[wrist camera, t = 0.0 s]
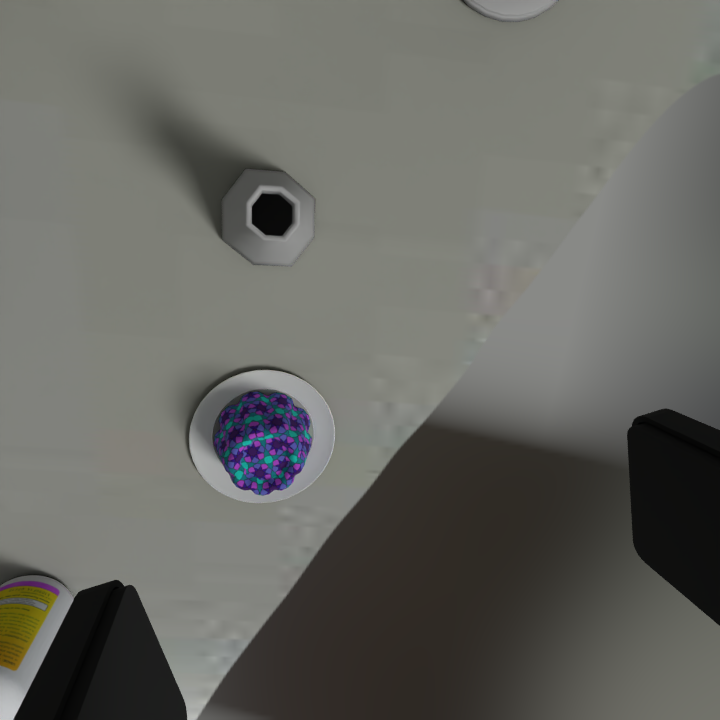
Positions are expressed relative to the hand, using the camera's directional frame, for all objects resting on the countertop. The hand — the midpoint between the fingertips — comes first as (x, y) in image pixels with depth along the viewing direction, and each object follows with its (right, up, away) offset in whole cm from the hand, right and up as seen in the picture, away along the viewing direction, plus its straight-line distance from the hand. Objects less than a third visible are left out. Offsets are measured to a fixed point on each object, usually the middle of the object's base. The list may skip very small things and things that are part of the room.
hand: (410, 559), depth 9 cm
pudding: (-9, -3, +32) cm, 34 cm away
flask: (-8, +14, +28) cm, 32 cm away
